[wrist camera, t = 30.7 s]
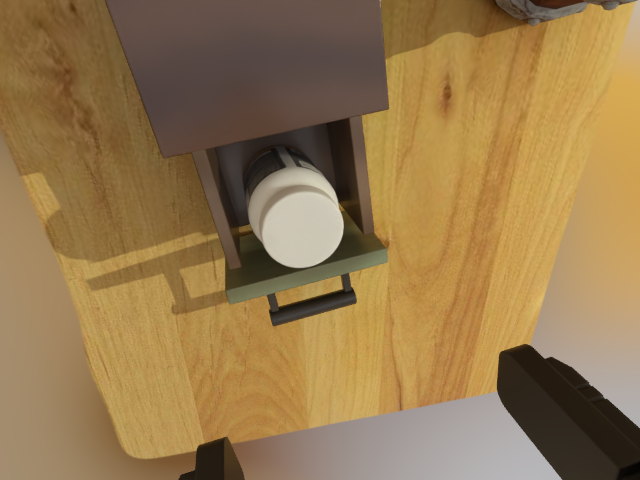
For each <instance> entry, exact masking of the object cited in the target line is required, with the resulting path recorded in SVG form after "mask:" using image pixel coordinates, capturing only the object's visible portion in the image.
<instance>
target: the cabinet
mask: <svg viewBox="0 0 640 480" xmlns="http://www.w3.org/2000/svg"><path fill="white" fill-rule="evenodd" d="M105 2H106V5H107V8H108V11H109V13H110V16H111V19H112V21H113V24H114V27H115V29H116V32H117V35H118V38H119V40H120V43H121V46H122V48H123V51H124V54H125V57H126V59H127V62H128V65H129V67H130V70H131V73H132V76H133V78H134V81H135V84H136V86H137V89H138V92H139V94H140V97H141V100H142V103H143V105H144V108H145V111H146V113H147V116H148V119H149V122H150V124H151V127H152V130H153V132H154V135H155V138H156V141H157V143H158V146H159V149H160V151H161V154H162V157H163V158H169V157H173V156H178V155H182V154H187V153H191V152H196V151H201V150H205V149H210V148H214V147H219V146H223V145H228V144H233V143H237V142H242V141H246V140H251V139H255V138H260V137H265V136H269V135H274V134H278V133H283V132H287V131H292V130H297V129H301V128H306V127H310V126H315V125H320V124H324V123H329V122H333V121H338V120H342V119H347V118H352V117H356V116H361V115H365V114H370V113H374V112H379V111H384V110H388V109H389V102H388V89H387V77H386V64H385V51H384V38H383V25H382V12H381V0H105Z"/></svg>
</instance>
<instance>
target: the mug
mask: <svg viewBox="0 0 640 480" xmlns="http://www.w3.org/2000/svg"><path fill="white" fill-rule="evenodd" d="M495 1H496V5H498V6H499V7H500V8H502V9H503V10H504V11H506V12H507V13H508V14H510V15H511V16H513V17H514V18H515V19H517V20H523V21H527V22H528V24H529V25H531V26H534V25H537V24H538V23H541V22H545V21H550V20H554V19H557V18H561V17H564V16H567V15H571V14H574V13H580V12H582V11H584V10H585V9H586V7H587V5H588V4H589V3H591V4H596V5H601V6H602V7H603V8H604V9H605V10H613V9H615V8H616V7H617V6H618V5H621V4H626V3H630V2H634V1H637V0H495Z"/></svg>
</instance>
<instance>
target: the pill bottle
mask: <svg viewBox="0 0 640 480" xmlns="http://www.w3.org/2000/svg"><path fill="white" fill-rule="evenodd" d="M243 186H244V193H245V198H246V204H247V211H248V217H249V222H250V225H251V228H252V230H253V231H254V233H255V235H256V236H257V237H258V239H259V240H260V241H261V242H262V243H263V245H264V247H265V249H266V251H267V252H268V254H269V255H270V256H271V257H272V258H273V259H274V260H276V261H277V262H279V263H280V264H282V265H285V266H288V267H293V268H305V267H311V266H314V265H316V264H319V263H321V262H322V261H324V260H325V259H327V258H328V257H329V256H330V255H331V254H332V253H333V252H334V251H335V250H336V248H337V247H338V245H339V243H340V241H341V239H342V235H343V229H344V224H343V218H342V214H341V212H340V210H339V205H338V200H337V196H336V193H335V191H334V189H333V187H332V186H331V184H330V183H329V182H328V181H327V180H326V178H325V177H324V176H323V174H322V173H321V172H320V171H319V170H318V169H317V168H316V166H315V165H314V164H313V163H312V161H311V160H310V159H309V158H308V157H307V156H306V155H305V154H303V153H302V152H301V151H299V150H297V149H295V148H292V147H288V146H272V147H269V148H266V149H264V150H262V151H260V152H259V153H257V154H256V155H255V156H254V157H253V158H252V159H251V161H250V162H249V164H248V165H247V167H246V170H245V173H244V179H243Z"/></svg>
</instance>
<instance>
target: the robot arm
mask: <svg viewBox="0 0 640 480" xmlns="http://www.w3.org/2000/svg"><path fill="white" fill-rule="evenodd" d="M497 391H498V395H499V397H500V399H501V402H502V403H503V405H504V407H505V408H506V409H507V411H508V412H509V413H510V415H511V416H512V417H513V418H514V419H515V421H516V422H517V423H518V425H519V426H520V427H521V428H522V429H523V431H524V432H525V433H526V435H527V436H528V437H529V438H530V440H531V441H532V442H533V443H534V445H535V446H536V447H537V449H538V450H539V451H540V452H541V454H542V455H543V456H544V457H545V459H546V460H547V461H548V462H549V464H550V465H551V466H552V467H553V469H554V470H555V471H556V472H557V474H558V475H559V476H560V477H561V479H562V480H640V428H639V427H638V426H636V425H635V424H634V423H633V422H632V421H631V420H630V419H629V418H628V417H626V416H625V415H624V414H623V413H622V412H621V411H620V410H619V409H618V408H616V407H615V406H614V405H613V404H612V403H611V402H610V401H609V400H608V399H605V398H604V397H603V395H602V394H601V393H600V392H599V391H598V390H597V389H595V388H594V387H593V386H590V384H589V382H588V381H587V380H585V379H584V378H583V377H582V376H581V375H580V374H579V373H577V371H575V370H574V369H573V368H572V367H570V366H568V365H566V364H564V363H562V362H560V361H559V360H557V359H555V358H553V357H549V358H546V359H544V358H543V357H542V356H541V355H540V354H539V353H538V352H537V351H536V350H535V349H534V348H533V347H531V346H530V345H528V344H523V345H520V346H517V347H514V348H511V349H507V350H504V351H502V352H500V354H499V364H498V377H497ZM179 480H245V479H244V475H243V471H242V468H241V466H240V464H239V461H238V459H237V457H236V455H235V452H234V450H233V448H232V446H231V443H230V441H229V439H228V438H227V437H224V438H221V439H217V440H214V441H211V442H208V443H205V444H202V445H199V446H198V448H197V454H196V467H195V470H194V471H191V472H188V473H185V474H182V475H181V476H180V478H179Z"/></svg>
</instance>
